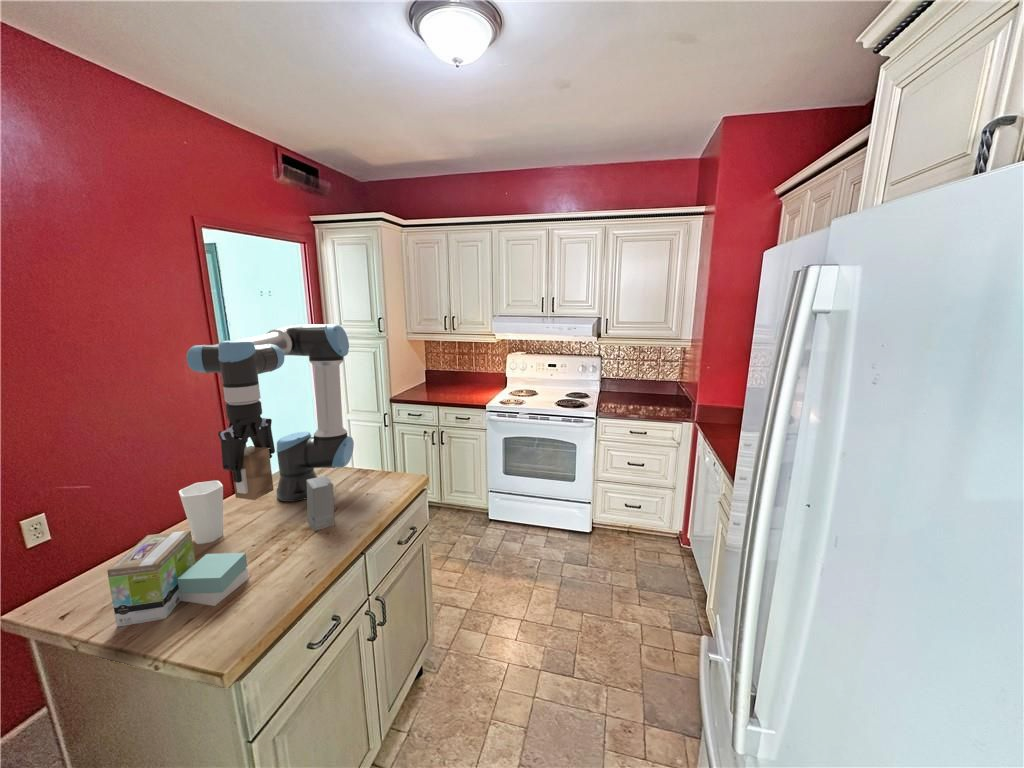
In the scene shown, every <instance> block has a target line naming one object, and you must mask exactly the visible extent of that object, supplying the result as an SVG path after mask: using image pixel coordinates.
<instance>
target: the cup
mask: <svg viewBox="0 0 1024 768" xmlns="http://www.w3.org/2000/svg"><path fill="white" fill-rule="evenodd" d="M178 494H179V497H180V500H181V503H182V507H183V510H184V513H185V516H186V519H187V522H188V525H189V528H190V531H191V535H192V539H193V540H194V543H195V544H196V545H203V544H209V543H210V544H211V543H212V542H213V543H214V541H216V540H218V539H219V538H221V537H222V536H224V485H223V484H222V482H221V481H220V480H210V481H209V480H208V481H201V482H199V481H198V482H195V483H192V484H191V485H188V486H186V487H183V488H181V489H180V490H178Z"/></svg>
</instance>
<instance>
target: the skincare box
mask: <svg viewBox="0 0 1024 768" xmlns="http://www.w3.org/2000/svg"><path fill="white" fill-rule="evenodd" d="M306 482H307V498H306V503H307V505H306V507H307V508H306V509H307V523H308V525H309V524H310V525H309V526H311V527H312V528H311V527H310V528H311V529H312V531H314V532H317V530H318V531H321V530H323V529H322V528H324V529H326V528H325V527H327V528H329V527H332V526H334V525H335V504H334V503H335V502H334V500H335V499H334V484H333V482H332V481H331V479H330V478H329V477H328V476H327V475H323V476H317V478H312V479H308V480H306ZM333 524H334V525H333ZM331 525H332V526H331ZM328 526H329V527H328ZM320 529H321V530H320Z"/></svg>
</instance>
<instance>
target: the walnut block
mask: <svg viewBox="0 0 1024 768" xmlns="http://www.w3.org/2000/svg"><path fill="white" fill-rule="evenodd" d="M242 468H244V469H245V471H246V479H247V487H248V493H246V494H243V493H237V488H236V482H234V481H233V486H234V487H233V489H234V494H235V495H234V496H235V498H236V499H237V498H238V499H243V500H244V499H245V500H249V501H250V500H251V501H256V500H258V499H260V498H261V497H263V496H265V495H267V494H270V493H271V492H272V491H274V483H273V473H272V465H271V458H270V454H269V448H266V447H262V448H261V447H255V446H254V445H249V446H245V451H244V455H243V464H242Z"/></svg>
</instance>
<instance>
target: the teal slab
mask: <svg viewBox="0 0 1024 768" xmlns="http://www.w3.org/2000/svg"><path fill="white" fill-rule="evenodd" d="M247 567H248V562H247V553H246V552H230V553H229V552H228V553H224V552H222V553H206V554H204V556H202V557H201V558H200V559H199V560H198V561H196V562H195V564H194V565H193V566H192V567H191V568H190V569H188V570H187V571H186V572H185V573H184V574H183V575H181V576H180V577H179V578H178V579H177V580H178V586H179V592H180V594H187V593H221V592H223V591H224V590H225V589H226V588H227V587H228V586H229V585H230V584H231V583H232V582H233V581H234V580H235V579H236V578H237V577H238V576H239V575H240V573H241V572H242V571H243V570H244V569H245V568H247Z"/></svg>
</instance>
